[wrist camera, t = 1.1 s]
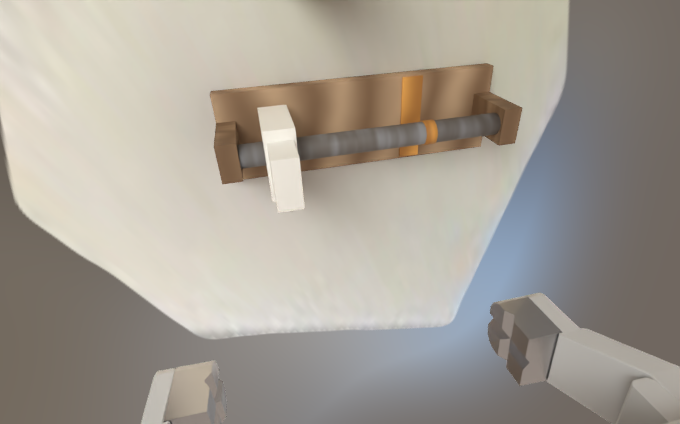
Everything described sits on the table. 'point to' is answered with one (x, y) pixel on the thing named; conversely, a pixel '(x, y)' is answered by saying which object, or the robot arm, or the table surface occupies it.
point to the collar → (281, 157)
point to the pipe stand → (364, 118)
